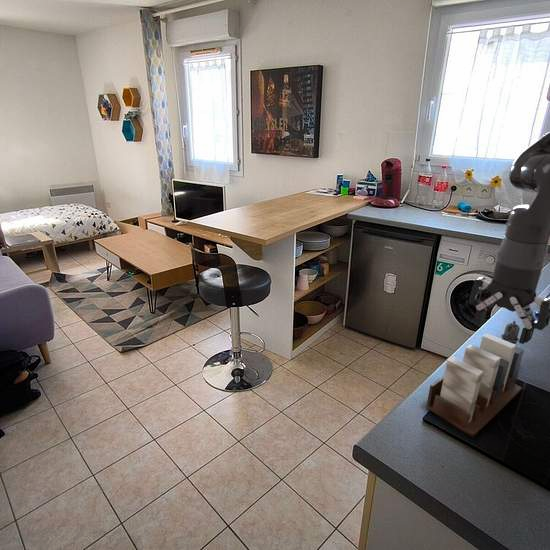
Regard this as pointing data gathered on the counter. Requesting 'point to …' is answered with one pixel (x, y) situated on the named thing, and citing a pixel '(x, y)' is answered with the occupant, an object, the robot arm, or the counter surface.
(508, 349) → the white book
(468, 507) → the counter surface
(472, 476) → the counter surface
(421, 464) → the counter surface
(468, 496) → the counter surface
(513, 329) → the stone chess piece
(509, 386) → the book rack
